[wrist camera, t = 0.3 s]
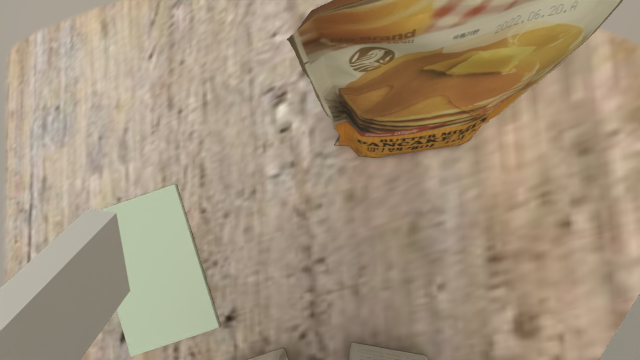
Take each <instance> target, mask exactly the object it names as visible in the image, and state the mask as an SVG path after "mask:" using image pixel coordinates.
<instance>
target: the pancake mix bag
mask: <svg viewBox="0 0 640 360" xmlns="http://www.w3.org/2000/svg"><path fill="white" fill-rule="evenodd" d="M622 1H623V0H333V1H331V2H329V3H327V4H324V5H322V6H320V7H318V8H316V9H314V10H312V11H311V12H310V13H309V14H308V16H307V17H306V19H305V20H304V21H303V23H302V24H301V26H300V27H299V28H298V30H297V31H296V32H295V33H294V34H293V35H291V36H290V37H289V38H288V39H287V40H288V41H289V42H290V44H291V46H292V47H293V49H294V51H295V53H296V56H297V58H298V60H299V62H300V65H301V67H302V70H303V72H304V73H305V74H306V75H307V77H308V78H309V79H310V81H311V83H312V86H313V88H314V91H315V94H316V96H317V98H318V100H319V101H320V103H321V106H322V108H323V110H324V111H325V113H326V114H327V116H328V117H329V118H330V119H331V120H332V123H333V125H334V129H335V130H336V131H337V132H338V134H339V137H338V139H337V141H336V143H335V144H334V145H349V146H350V147H351V148H352V149H353V150H354V151H355V152H356V153H357V154H358V156H364V157H373V158H376V157H382V156H389V155H396V154H403V153H410V152H416V151H423V150H429V149H436V148H442V147H450V146H459V145H461V144H463V143H466V142H468V141H469V140H470V139H471V138H472V137H473V135H474V134H475V133H476V132H477V130H478V129H479V128H480V127H481V125H482V124H484V123H486V122H489V120H490V119H492V118H493V117H495V116H497V115H498V114H500V113H501V112H502V111H503V110H505V109H506V108H507V107H508V106H510V105H511V104H512V103H514V102H515V101H516V100H517V99H518V98H519V97H520V96H521V95H522V94H524V93H525V92H526V91H528V90H529V89H530V88H532V87H533V86H534V85H536V84H537V83H538V82H540V81H541V80H542V79H543V78H544V77H546V76H547V75H548V74H549V73H551V72H552V71H553V70H555V69H556V68H557V67H558V66H560V65H561V64H562V63H563V62H564V61H565V60H566V58H567V57H568V56H569V55H571V54H572V53H573V52H574V51H575V50H576V49H577V48H579V47H580V46H581V45H582V44H583V43H584V42H585V41H586V40H587V39H588V38H589V37H590V36H591V35H592V34H593V33H594V32H595V31H596V30H597V29H598V28H599V27H600V26H601V25H602V24H603V23H604V21H605V20H606V19H607V18H608V17H609V16H610V15H611V14H612V12H613V11H614V10H615V9H616V8H617V7H618V6H619V5H620V3H621V2H622Z"/></svg>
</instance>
